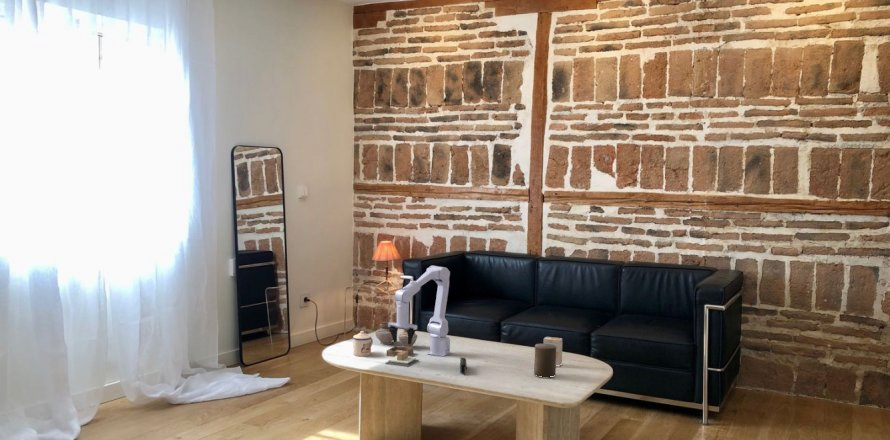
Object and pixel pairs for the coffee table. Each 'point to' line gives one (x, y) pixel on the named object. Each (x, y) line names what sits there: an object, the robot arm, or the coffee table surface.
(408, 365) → the mat
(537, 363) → the pillar candle
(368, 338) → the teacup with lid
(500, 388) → the coffee table surface
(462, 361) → the dark green stone
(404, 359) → the lid
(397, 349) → the tea box
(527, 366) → the coffee table surface
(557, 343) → the supplement box
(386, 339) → the pottery
